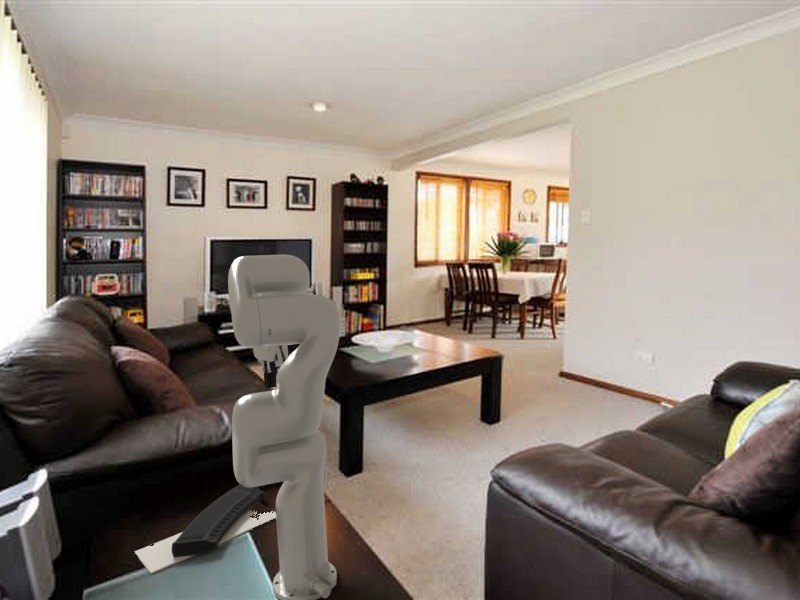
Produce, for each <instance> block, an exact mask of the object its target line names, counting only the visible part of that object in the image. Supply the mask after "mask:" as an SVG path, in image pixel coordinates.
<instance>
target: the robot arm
mask: <svg viewBox="0 0 800 600" xmlns="http://www.w3.org/2000/svg"><path fill="white" fill-rule="evenodd" d="M227 275H228V276H227V285H228V288H227V290H228V297H229V304H230V313H231V321H232V322H231V323H232V329H233V333H234V337H235V339H236V341H237V342H238V344H239V345H240V346H242V347H243V348H247V349H248V348H249V349H253V356H254V357H255V358H256V359H257V362H258V363H259V364H261V369H262V372H263V383H264V388H266V389H271V388H275V389H273V390H267V391H260V392H253V393H249V394H248V393H247V394H246V395H243V396H241V397H240V398H239V399H237V400H236V402H235V404H234V406H233V409H232V415H231V416H232V418H231V434H232V435H231V436H232V437H231V438H232V441H231V442H232V466H233V473H234V477H235V479H236V481H237V483H238V485H239V484H240V485H242V486H244V487H257V488H258V487H261V486H262V487H263V486H266V485H271V484H276V483H280V482H283V483H282V485H281V487H280V488H279V490H278V492H277V495H276V498H275V512H276V519H275V520H276V532H277V536H276V537H277V547H278V561H279V564H278V565H279V571H278V572H276V575H275V576H274V578H273V581H272V591H273V594H274V595H275V597H276V598H277V599H279V600H319V599H321V598H323V599H327V598H328V597H329V596H330V595H331V593H332V590H333V588H334V587H335V586H336V585H337V581H338V580H337V578H338V576H337V575H338V574H337V569H336V567H335V565H333V564H332V563H331V562H329V555H328V537H327V523H326V522H327V521H326V508H325V506H326V504H325V484H324V483H325V482H324V481H325V468H326V467H325V465H326V455H327V446H326V445H327V444H326V440H325V435H323V433H322V432H321V431H320V429H319V428H320V426H321V423H322V418H323V408H324V400H325V399H324V398H325V389H326V382H327V381H326V380H327V376H328V373H329V370H330V368H331V366H332V363H333V361H334V359H335V356H336V353H337V350H338V346H339V341H340V337H341V336H340V334H341V319H340V312H339V308H338V306H337V304H336V303H335V302H334V300H332V299H331V298H329V297H327V296H325V295H321V294H320V295H319V294H311V293H310V294H308V292H309V289H310V282H311V278H310V270H309V268H308V266H307V265H306V263H305V262H304V261H303V259H300V258H299V257H298V256H295V255H291V254H265V255H264V254H262V255H242V256H239V257H237V258H235V259H234V260H233V261H232V263H231V265H230V268H229V270H228V274H227ZM295 344H299V345H298V347H296V349H294V350H293V351H292V352H291V353H289V349H288V345H295ZM283 360H284V361H283Z"/></svg>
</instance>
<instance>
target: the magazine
mask: <svg viewBox="0 0 800 600" xmlns="http://www.w3.org/2000/svg"><path fill="white" fill-rule="evenodd" d="M264 499H266V493H265V492H264V491H263V490H260V487H258V486H257V487H244V486H242V485H240V484H239V483H238V485H236V486H234V487H233V488H232V489H230V490H228V491H227V492H225V493H224V494H223V495H221V496H219V498H217V499H216V500H214V501H213V502H212V503H211V504H209V505H208V506H207V507H206V508H204V509H203V511H201V512H200V513H199V514H198V515H197V516H196V517H195V518H194V519H193V520H192V521H191V522H190V523H189V524H188V526H186V528H185V529H184V530H183V531H182V532H183V533H182V532H181V533H182V534H181V535H180V536H179V537H178V539H177V540H176V541H175V542H173V543H172V554H173V557H174V558H175V557H183V556H191V555H194V556H199V555H207V554H208V553H209V552H211V551H215V550H217V549H218V547H219V545H220V544H219V542H220V540H221V539H222V537H223V536H224V535H225V533H226V532H227V531H228V530H229V529H230V527H231V526H232V525H233V524H234V523H235V522H236V521H237V519H238V518H239V517H241V516H242V515H243V514H244V513H245V512H246V511H247V510H248V509H249V508H251V507H252V506H253V505H254V504H256V503H258V502H261V500H262V501H263V500H264ZM218 544H219V545H218Z"/></svg>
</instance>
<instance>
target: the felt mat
mask: <svg viewBox="0 0 800 600" xmlns="http://www.w3.org/2000/svg"><path fill="white" fill-rule="evenodd" d="M273 511H274V512H273ZM273 511H271V512H270V513H269V512H267V513H265V512H264V513H263V514H261V513H260V514H258V515H260V516H259V517H257V518H259V519H258V520H257V518H255V517H256V516H255V515H256V514H257V511H256V512H255V510H254V511H253V512H252V510H250V509H248V510H247V511H246V512H245V513H244V514H243V515H242V516H241V517H239V518H238V519H237V521H236V522H235V523H234V524H233V525H232V526H231V527H230V529H229V530H228V531H227V532H226V533H225V535H224V536H223V537H222V539H221V540H220V542H219V544H218V546H219V545H221V544H223V543H225V542H227V541H230V540H233V539H234V538H236V537H239V536H241V535H243V534H246V533H248V532H250V531H252V530H254V529H253V528H255V527H257V526H259V525H261V526H263V525H262V524H264V523H266V522H268V523H270V522H271V521H270V520H273V519H275V518H276V510H273ZM272 512H273V513H272ZM253 514H255V515H253ZM252 515H253V516H255V517H254V518H252V517H250V516H252ZM258 515H257V516H258ZM275 520H276V519H275ZM269 521H270V522H269ZM273 521H274V520H273ZM266 524H267V523H266ZM264 525H265V524H264ZM259 527H260V526H259ZM257 528H258V527H257ZM255 529H256V528H255ZM249 530H250V531H249ZM247 531H248V532H247ZM245 532H246V533H245ZM182 533H183V531H182V532H179V533H176V534H175V535H173V536H169V537H167V538H165V539H161V540H159V541H157V542H155V543H153V544H154V545H153V546H150V545H151V544H150V545H147V546H145V547H143V548H140V549H137V550H134V552H135V553H134V555H135V554H136V555H137V556H138V557H137V556H136V555H135V556H136V557H137V558H139V559H138V560H139V562H140V563H141V564H142V565H143V566H144V567H145V568H146V570H147V571H148V573H149V574H150V575H153V574H156V573H157V572H160V571H163V570H164V569H166V568H169V567H171V566H173V565H176V564H178V563H180V562H182V561H185V560H186V559H187V560H188V559H189V558H191V557H194V556H195V555H191V556H183V557H175V558H174V557H173V554H172V543H173V542H175V541H176V540H177V539H178V537H179V536H180V535H181V534H182Z"/></svg>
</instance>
